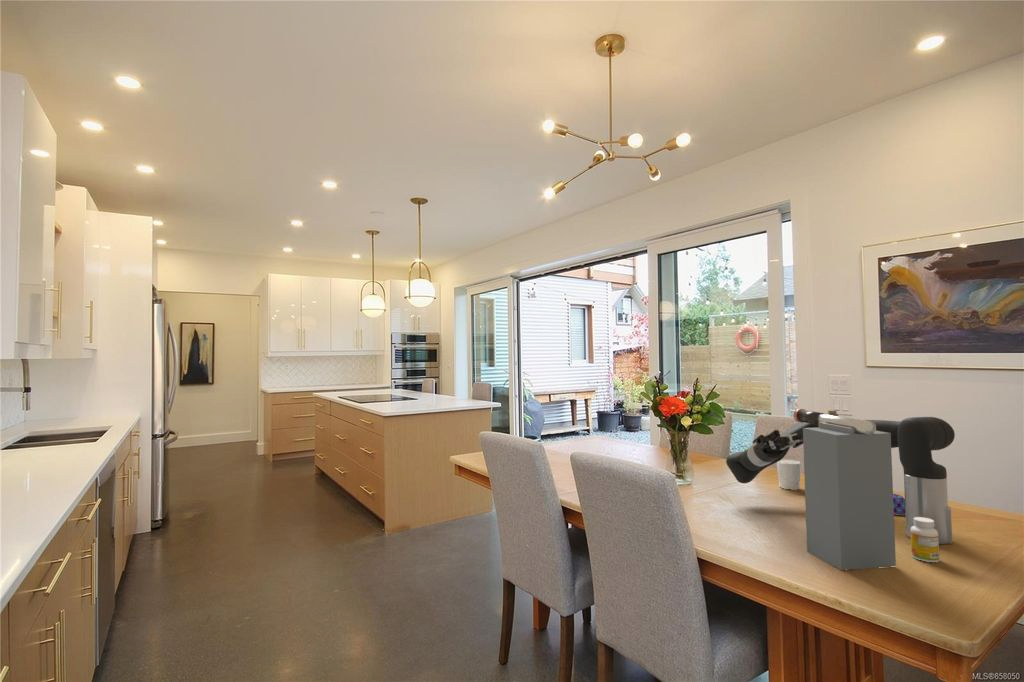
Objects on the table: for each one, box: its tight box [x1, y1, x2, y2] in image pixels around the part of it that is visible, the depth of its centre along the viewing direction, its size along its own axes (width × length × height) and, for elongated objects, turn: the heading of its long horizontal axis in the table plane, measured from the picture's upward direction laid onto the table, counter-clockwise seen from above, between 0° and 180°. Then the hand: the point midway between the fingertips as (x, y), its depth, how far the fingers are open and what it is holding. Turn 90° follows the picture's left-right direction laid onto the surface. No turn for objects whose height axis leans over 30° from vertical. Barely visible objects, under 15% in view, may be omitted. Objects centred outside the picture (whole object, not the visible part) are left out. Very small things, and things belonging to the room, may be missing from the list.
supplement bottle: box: [910, 517, 940, 564], centre depth 125 cm, size 5×5×10 cm
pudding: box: [893, 493, 905, 516], centre depth 163 cm, size 12×12×5 cm
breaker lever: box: [793, 408, 876, 434], centre depth 131 cm, size 25×4×4 cm, turn 5°
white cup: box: [776, 459, 801, 491], centre depth 192 cm, size 8×8×10 cm
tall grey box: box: [802, 422, 897, 571], centre depth 126 cm, size 12×14×33 cm
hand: (792, 432), depth 147 cm, fingers open, 8 cm apart
